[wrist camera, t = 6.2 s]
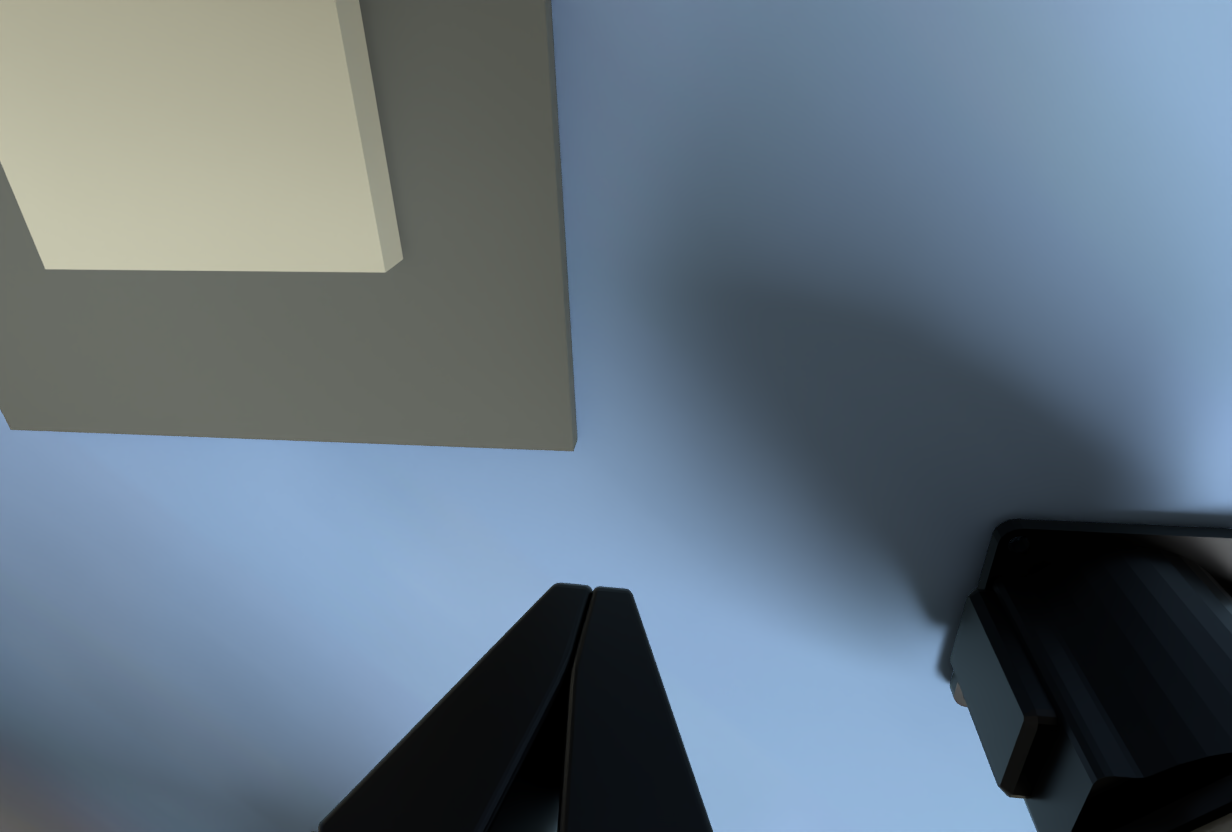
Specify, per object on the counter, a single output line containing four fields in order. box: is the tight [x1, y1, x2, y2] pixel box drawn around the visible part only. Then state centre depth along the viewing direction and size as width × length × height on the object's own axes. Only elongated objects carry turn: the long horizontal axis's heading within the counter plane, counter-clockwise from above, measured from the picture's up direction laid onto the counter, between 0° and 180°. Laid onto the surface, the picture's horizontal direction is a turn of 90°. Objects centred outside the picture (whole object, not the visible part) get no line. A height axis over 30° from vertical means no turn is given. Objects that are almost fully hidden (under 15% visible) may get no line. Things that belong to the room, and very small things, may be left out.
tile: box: [0, 0, 403, 273], centre depth 14 cm, size 1×8×8 cm
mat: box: [0, 0, 577, 451], centre depth 15 cm, size 16×18×1 cm
